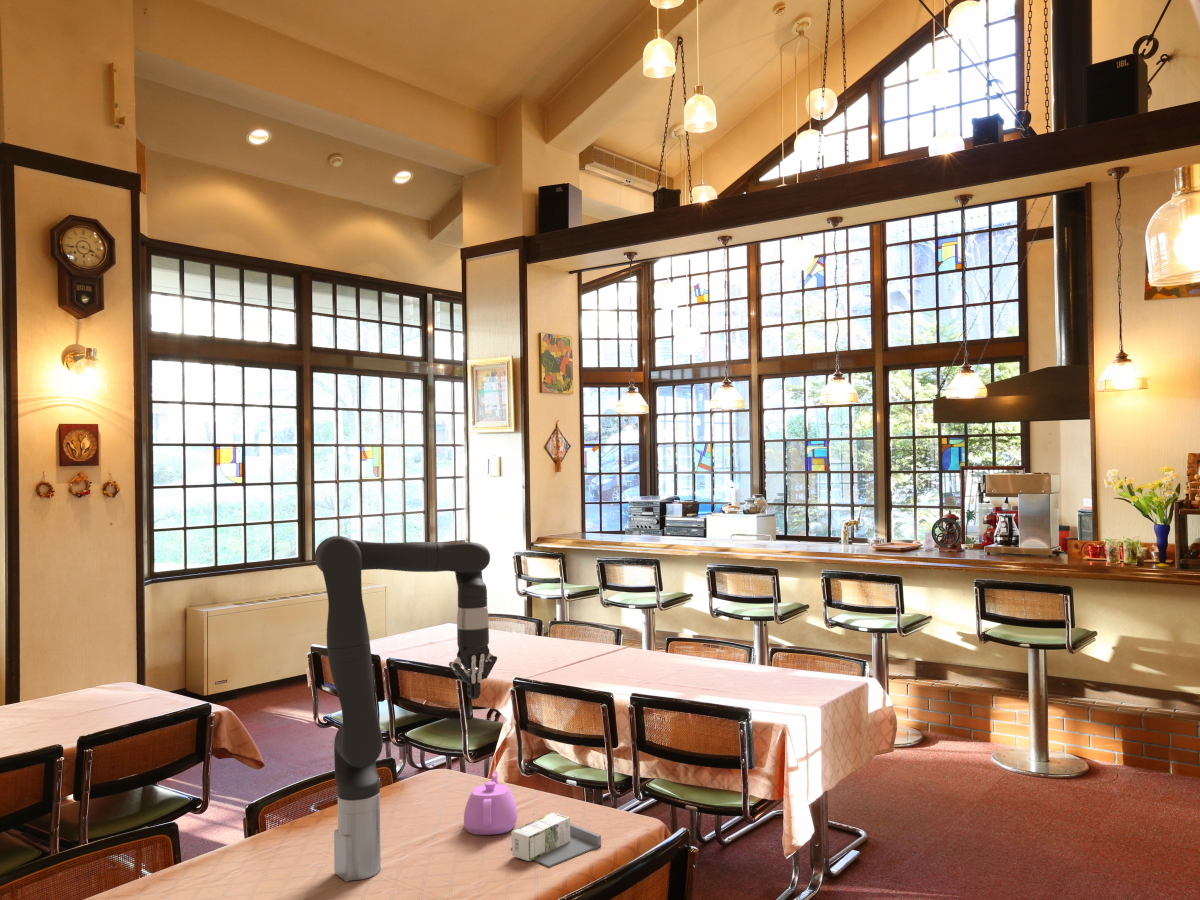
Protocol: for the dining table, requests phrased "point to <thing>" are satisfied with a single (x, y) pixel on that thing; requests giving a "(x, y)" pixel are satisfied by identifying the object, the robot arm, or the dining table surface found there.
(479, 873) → the dining table surface
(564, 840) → the syrup box
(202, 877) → the dining table surface
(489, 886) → the dining table surface
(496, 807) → the teapot
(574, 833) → the board with raised edge
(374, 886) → the dining table surface
